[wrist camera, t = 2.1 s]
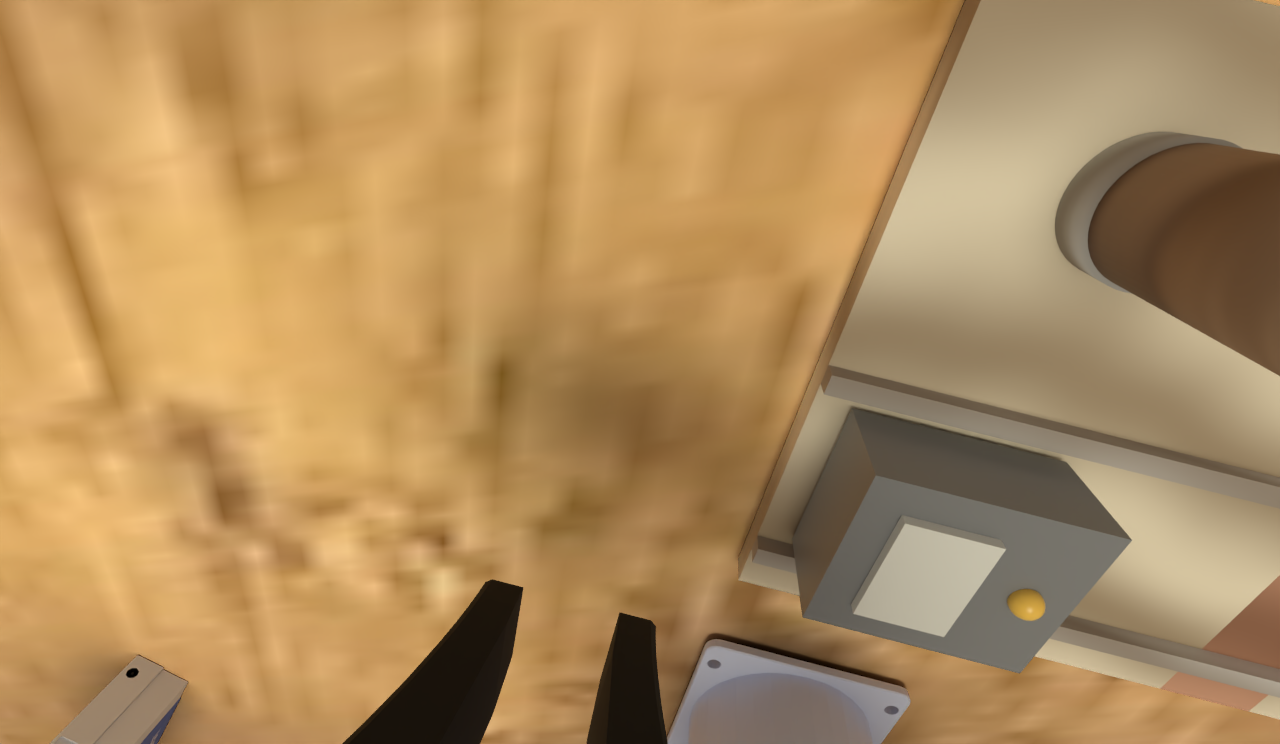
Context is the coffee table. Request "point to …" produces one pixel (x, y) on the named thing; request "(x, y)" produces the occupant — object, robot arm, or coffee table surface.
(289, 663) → the coffee table surface
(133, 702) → the walkman
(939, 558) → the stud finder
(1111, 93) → the cream ridged tray
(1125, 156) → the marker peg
